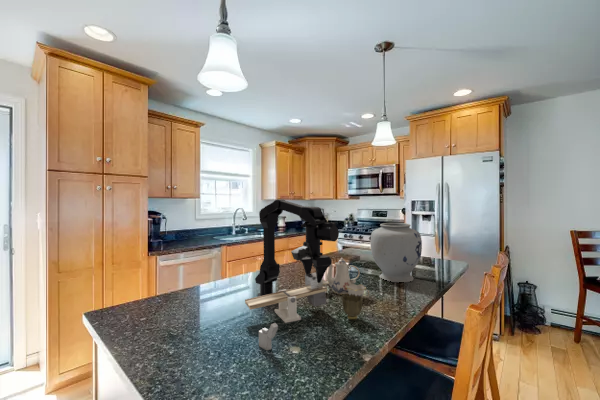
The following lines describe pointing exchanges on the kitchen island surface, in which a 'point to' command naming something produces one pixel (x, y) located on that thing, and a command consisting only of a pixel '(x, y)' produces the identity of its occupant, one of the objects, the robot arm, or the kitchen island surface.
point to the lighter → (267, 336)
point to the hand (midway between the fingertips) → (313, 279)
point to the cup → (352, 305)
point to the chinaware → (343, 280)
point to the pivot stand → (288, 309)
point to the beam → (313, 296)
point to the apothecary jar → (396, 251)
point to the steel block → (312, 282)
